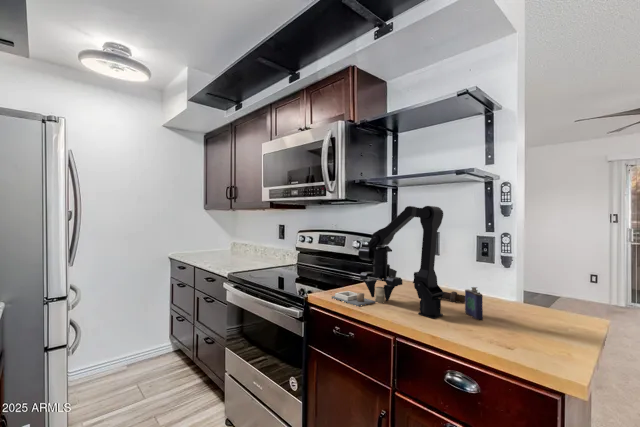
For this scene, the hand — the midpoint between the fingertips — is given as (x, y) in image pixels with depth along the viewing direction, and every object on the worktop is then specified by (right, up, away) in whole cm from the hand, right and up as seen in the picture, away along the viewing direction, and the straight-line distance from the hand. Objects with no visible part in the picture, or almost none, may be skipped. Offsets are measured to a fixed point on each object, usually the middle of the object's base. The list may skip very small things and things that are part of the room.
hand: (380, 299), depth 130 cm
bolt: (+30, -3, +5) cm, 30 cm away
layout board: (-11, -1, +1) cm, 11 cm away
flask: (+31, -2, -18) cm, 36 cm away
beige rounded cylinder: (0, -1, 0) cm, 1 cm away
